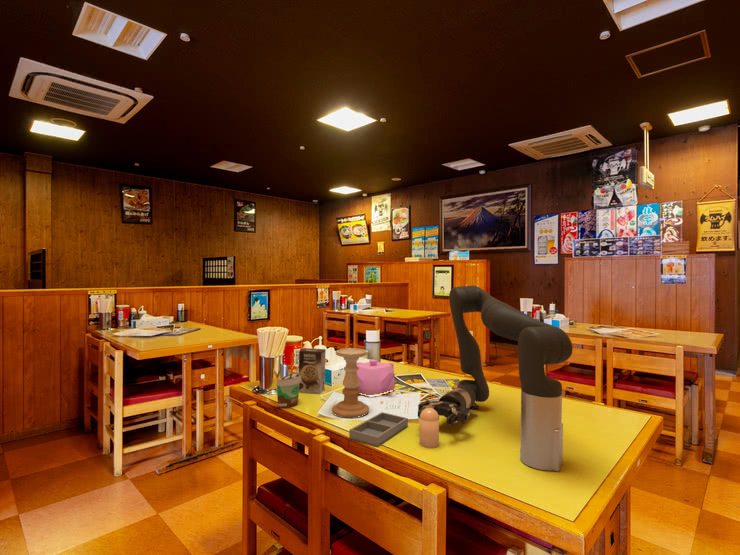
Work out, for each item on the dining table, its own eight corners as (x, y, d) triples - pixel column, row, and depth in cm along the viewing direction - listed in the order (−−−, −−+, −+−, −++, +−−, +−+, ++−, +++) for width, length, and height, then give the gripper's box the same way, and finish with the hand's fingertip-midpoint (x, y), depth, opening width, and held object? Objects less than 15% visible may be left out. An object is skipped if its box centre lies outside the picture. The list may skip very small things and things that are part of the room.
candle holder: (368, 418, 125) (369, 355, 125) (330, 418, 126) (330, 354, 125) (369, 405, 138) (370, 347, 137) (334, 405, 138) (334, 347, 138)
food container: (293, 411, 131) (293, 381, 131) (275, 409, 133) (276, 379, 133) (306, 399, 143) (306, 372, 143) (290, 398, 145) (290, 371, 145)
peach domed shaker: (441, 442, 108) (442, 407, 108) (433, 449, 104) (434, 413, 104) (424, 438, 111) (424, 404, 111) (416, 444, 107) (416, 409, 106)
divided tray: (407, 426, 119) (407, 418, 119) (377, 447, 105) (377, 437, 105) (381, 420, 124) (381, 412, 124) (349, 438, 110) (349, 429, 110)
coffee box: (297, 392, 152) (298, 350, 152) (303, 388, 158) (303, 347, 158) (320, 394, 150) (321, 351, 150) (325, 389, 157) (325, 348, 156)
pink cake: (393, 385, 163) (394, 355, 163) (395, 398, 146) (395, 365, 146) (352, 385, 163) (352, 355, 163) (349, 398, 146) (349, 364, 146)
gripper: (434, 387, 127) (410, 400, 113) (478, 395, 119) (458, 410, 105) (433, 410, 127) (410, 426, 113) (477, 419, 119) (457, 438, 106)
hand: (433, 418), depth 109 cm, fingers open, 8 cm apart
